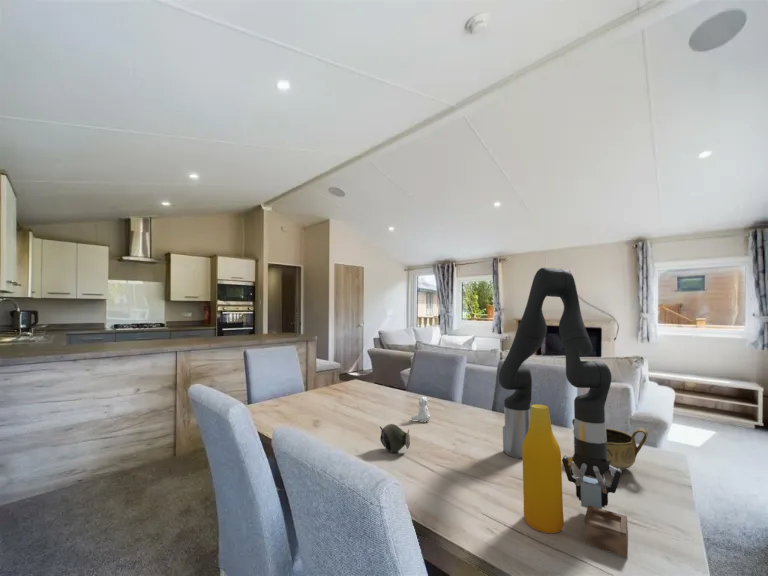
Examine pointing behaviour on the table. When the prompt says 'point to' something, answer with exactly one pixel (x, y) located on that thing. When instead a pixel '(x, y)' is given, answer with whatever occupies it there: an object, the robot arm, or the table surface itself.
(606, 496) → the robot arm
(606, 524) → the walnut base
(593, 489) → the lid block
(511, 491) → the table surface
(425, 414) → the sitting furry creature
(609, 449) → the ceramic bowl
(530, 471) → the beer bottle
